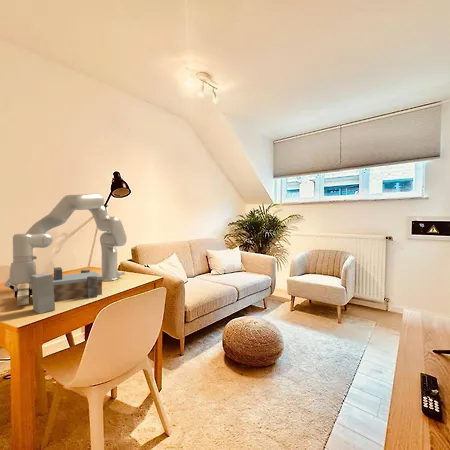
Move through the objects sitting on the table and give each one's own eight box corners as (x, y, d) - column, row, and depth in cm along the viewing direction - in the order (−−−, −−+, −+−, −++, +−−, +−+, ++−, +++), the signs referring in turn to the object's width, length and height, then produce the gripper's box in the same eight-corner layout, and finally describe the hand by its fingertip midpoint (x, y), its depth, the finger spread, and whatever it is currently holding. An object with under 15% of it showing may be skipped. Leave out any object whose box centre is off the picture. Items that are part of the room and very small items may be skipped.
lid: (95, 275, 150) (95, 263, 150) (101, 281, 138) (101, 267, 137) (40, 282, 135) (40, 267, 134) (41, 288, 122) (41, 272, 122)
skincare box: (55, 310, 113) (55, 274, 113) (35, 314, 108) (35, 276, 107) (49, 306, 119) (49, 271, 118) (30, 310, 113) (30, 273, 113)
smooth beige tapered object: (28, 291, 135) (28, 283, 135) (28, 303, 116) (28, 294, 116) (18, 292, 132) (18, 285, 132) (17, 305, 113) (17, 296, 113)
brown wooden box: (94, 286, 153) (94, 268, 153) (103, 296, 135) (103, 275, 135) (40, 293, 137) (40, 274, 137) (42, 305, 119) (42, 282, 119)
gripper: (44, 257, 132) (44, 293, 132) (0, 260, 122) (1, 299, 122) (44, 259, 126) (45, 296, 126) (-1, 262, 116) (-1, 303, 116)
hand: (23, 297), depth 124 cm, fingers closed on smooth beige tapered object, 3 cm apart
